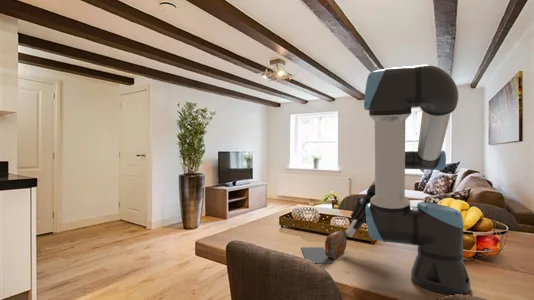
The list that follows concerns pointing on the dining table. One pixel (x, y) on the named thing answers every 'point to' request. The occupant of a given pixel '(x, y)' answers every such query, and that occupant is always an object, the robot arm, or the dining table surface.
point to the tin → (335, 244)
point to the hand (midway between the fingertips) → (348, 234)
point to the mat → (316, 255)
